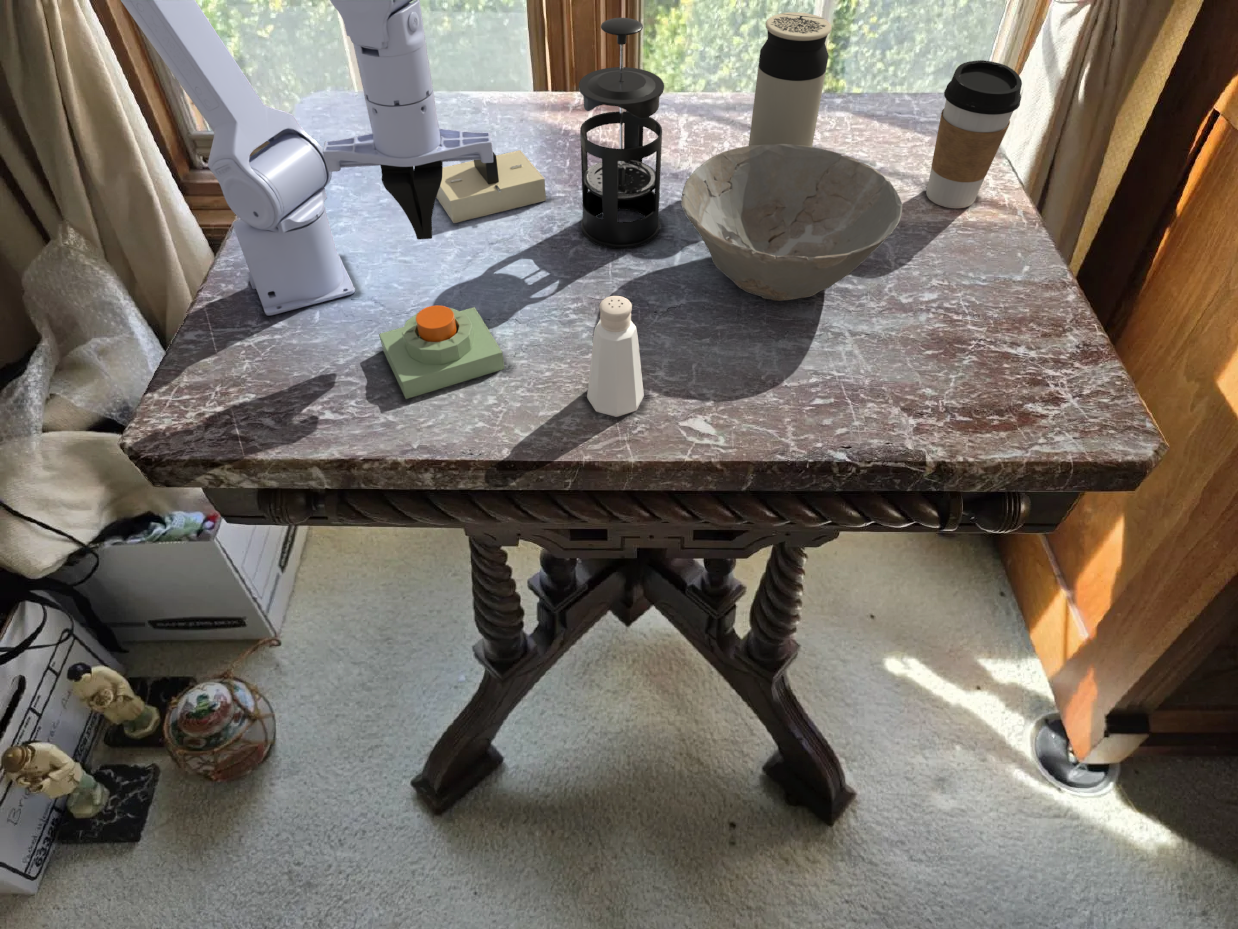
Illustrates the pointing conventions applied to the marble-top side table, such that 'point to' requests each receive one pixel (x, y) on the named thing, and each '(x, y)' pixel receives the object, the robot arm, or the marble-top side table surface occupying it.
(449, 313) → the button
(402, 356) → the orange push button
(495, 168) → the knob
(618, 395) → the salt shaker
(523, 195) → the dial panel
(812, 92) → the travel mug
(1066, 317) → the marble-top side table surface
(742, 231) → the ceramic bowl
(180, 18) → the robot arm
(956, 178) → the coffee cup
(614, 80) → the french press
